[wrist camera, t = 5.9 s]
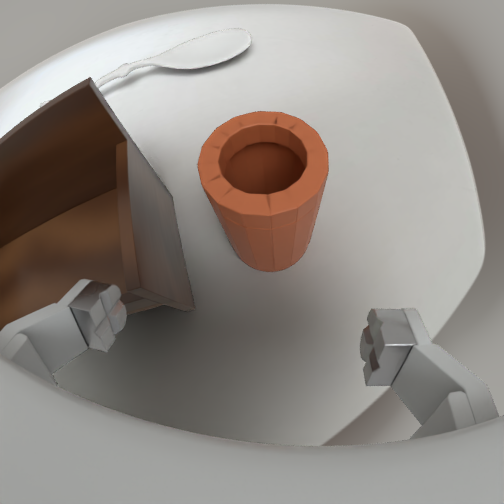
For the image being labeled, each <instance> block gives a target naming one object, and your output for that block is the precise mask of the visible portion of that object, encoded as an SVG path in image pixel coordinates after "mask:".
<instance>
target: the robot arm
mask: <svg viewBox="0 0 504 504" xmlns="http://www.w3.org/2000/svg"><path fill="white" fill-rule="evenodd" d="M121 295H122V294H121V291H120V288H119V287H118V286H117V285H115V284H110V283H105V282H100V281H93V280H88V279H81V280H80V281H79V282H78V283H77V284H76V285H75V286H74V287H73V288H72V289H71V290H70V291H69V292H68V293H67V294H66V295H65V296H64V297H63V298H62V299H61V300H60V301H59V302H58V303H57V304H56V303H53V304H51V305H48V306H46V307H44V308H42V309H40V310H37V311H35V312H33V313H31V314H28V315H26V316H24V317H22V318H20V319H18V320H15V321H13V322H11V323H9V324H7V325H6V326H5V327H4V328H3V329H2V330H1V331H0V504H504V415H503V416H500V417H499V415H498V412H497V409H496V406H495V404H494V401H493V399H492V396H491V393H490V391H489V388H488V386H487V384H486V383H484V382H483V381H482V380H481V379H480V378H478V377H477V376H476V375H475V374H474V373H472V372H471V371H470V370H469V369H467V368H466V367H465V366H464V365H462V364H461V363H460V362H459V361H457V360H456V359H455V358H454V357H453V356H451V355H450V354H449V353H447V352H446V351H445V350H444V349H442V348H441V347H440V346H439V345H437V344H433V343H432V341H431V339H430V337H429V334H428V332H427V330H426V328H425V325H424V323H423V321H422V319H421V317H420V315H419V312H418V311H417V310H416V309H415V308H409V309H372V308H371V310H370V312H369V314H368V317H367V321H368V326H367V327H366V328H365V329H363V332H362V336H361V341H360V354H361V358H362V359H363V360H364V361H365V362H366V363H365V366H364V368H363V372H364V378H365V384H366V386H391V388H392V389H393V390H394V391H395V392H396V394H397V395H398V396H399V397H400V399H401V400H402V401H403V403H404V404H405V405H406V406H407V408H408V409H409V410H410V411H411V412H412V414H413V415H414V416H415V417H416V419H417V420H418V421H419V422H420V424H421V425H422V426H421V427H420V428H419V429H418V430H417V431H416V432H415V433H414V434H413V435H412V437H411V438H410V439H409V440H402V441H395V442H387V443H377V444H366V445H350V446H294V445H277V444H265V443H256V442H247V441H239V440H232V439H226V438H220V437H214V436H208V435H203V434H198V433H193V432H189V431H184V430H180V429H176V428H172V427H168V426H164V425H160V424H157V423H153V422H150V421H146V420H143V419H140V418H137V417H133V416H130V415H127V414H124V413H121V412H118V411H116V410H113V409H110V408H107V407H105V406H102V405H100V404H97V403H94V402H92V401H90V400H87V399H85V398H82V397H80V396H78V395H75V394H73V393H71V392H69V391H67V390H65V389H62V388H60V387H58V386H57V382H56V380H55V379H54V378H53V376H52V375H51V374H52V373H54V372H55V371H57V370H58V369H60V368H61V367H63V366H64V365H65V364H67V363H68V362H70V361H71V360H73V359H74V358H76V357H77V356H78V355H80V354H81V353H83V352H84V351H86V350H87V349H88V347H89V348H92V349H96V350H100V351H103V352H108V350H109V349H110V347H111V346H112V344H113V343H114V341H115V340H116V338H115V334H116V333H118V332H120V331H122V329H123V327H124V326H125V323H126V319H127V311H126V308H125V305H124V304H123V303H122V301H121V300H120V297H121Z"/></svg>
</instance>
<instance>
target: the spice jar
mask: <svg viewBox="0 0 504 504" xmlns="http://www.w3.org/2000/svg"><path fill="white" fill-rule="evenodd" d="M197 165H198V171H199V175H200V180H201V184H202V187H203V189H204V191H205V193H206V195H207V197H208V199H209V201H210V203H211V205H212V207H213V209H214V211H215V213H216V215H217V217H218V219H219V221H220V223H221V225H222V227H223V229H224V231H225V233H226V235H227V237H228V239H229V241H230V243H231V245H232V247H233V249H234V251H235V252H236V253H237V255H238V256H239V257H240V259H241V260H242V261H243V262H244V263H246V264H247V265H249V266H250V267H252V268H254V269H257V270H260V271H266V272H274V271H280V270H284V269H286V268H288V267H290V266H292V265H293V264H295V263H296V262H297V261H298V260H299V259H300V258H301V257H302V256H303V254H304V253H305V251H306V249H307V246H308V244H309V242H310V239H311V235H312V232H313V228H314V225H315V221H316V217H317V214H318V210H319V207H320V203H321V199H322V195H323V192H324V187H325V184H326V180H327V176H328V171H329V165H328V152H327V149H326V147H325V145H324V143H323V141H322V139H321V138H320V136H319V134H318V133H317V131H315V130H314V129H313V128H312V127H310V126H309V125H308V124H306V123H305V122H304V121H303V120H301V119H299V118H296V117H294V116H291V115H288V114H285V113H282V112H265V111H258V112H252V113H248V114H244V115H240V116H237V117H235V118H232V119H230V120H229V121H227V122H225V123H224V124H222V125H221V126H219V127H217V128H216V130H214V132H213V133H212V134H211V135H210V137H209V138H208V139H207V140H206V142H205V143H204V144H203V146H202V149H201V153H200V156H199V160H198V164H197Z"/></svg>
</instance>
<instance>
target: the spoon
mask: <svg viewBox="0 0 504 504" xmlns="http://www.w3.org/2000/svg"><path fill="white" fill-rule="evenodd" d="M251 42H252V37H251V34H250V33H249V32H248V31H246V30H244V29H239V28H233V29H226V30H221V31H216V32H212V33H209V34H206V35H203V36H200V37H198V38H195V39H192V40H189V41H187V42H184V43H182V44H180V45H178V46H176V47H174V48H172V49H169V50H167V51H165V52H163V53H161V54H159V55H156V56H154V57H150V58H147V59H143V60H139V61H136V62H133V63H130V64H128V63H126V64H123V65H121V66H120V67H119V68H118V69H116V70H114V71H113V72H111V73H109V74H107V75H105V76H103V77H102V78H100V79H99V80H97V81H96V82H95V85H96V86H97V88H98V89H99V88H100V87H101V86H102V85H104V84H105V83H107V82H109V81H111V80H114V79H116V78H119V77H121V78H122V77H125V76H127V75H128V74H129V73H130V72H131V71H133V70H135V69H138V68H141V67H145V66H161V67H167V68H174V69H196V68H203V67H208V66H212V65H215V64H218V63H221V62H224V61H226V60H229V59H231V58H233V57H235V56H237V55H238V54H240V53H242V52H243V51H244V50H246V49H247V48H248V47H249V46H250V44H251ZM50 101H51V100H50ZM48 102H49V101H45V102H43V103H41V104H40V108H41V107H42V106H43V105H45V104H46V103H48Z"/></svg>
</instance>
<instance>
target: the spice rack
mask: <svg viewBox="0 0 504 504" xmlns="http://www.w3.org/2000/svg"><path fill="white" fill-rule="evenodd" d="M81 279H88V280H93V281H100V282H105V283H110V284H115V285H117V286H118V287H119V288H120V291H121V294H122V295H121V297H120V300H121V301H122V303H123V304H124V305H125V308H126V311H127V315H129V314H133V313H136V312H140V311H144V310H148V309H151V308H155V307H159V306H162V305H167V306H170V307H173V308H176V309H179V310H182V311H185V312H187V311H191V310H195V305H194V300H193V296H192V292H191V288H190V283H189V279H188V274H187V270H186V265H185V260H184V256H183V251H182V246H181V241H180V236H179V231H178V226H177V220H176V215H175V209H174V204H173V198H172V196H171V194H170V193H169V191H168V190H167V189H166V187H165V186H164V184H163V183H162V182H161V180H160V179H159V177H158V176H157V174H156V173H155V172H154V170H153V169H152V167H151V166H150V164H149V163H148V162H147V160H146V159H145V157H144V156H143V154H142V153H141V152H140V150H139V149H138V147H137V146H136V144H135V143H134V141H133V140H132V138H131V137H130V135H129V134H128V133H127V131H126V130H125V128H124V127H123V125H122V124H121V123H120V121H119V120H118V118H117V117H116V115H115V114H114V112H113V111H112V109H111V108H110V106H109V105H108V103H107V102H106V100H105V98H104V97H103V95H102V94H101V92H100V91H99V89H98V88H97V86H96V85H95V83H94V82H93V80H92V78H91V77H89V78H88V79H86V80H84V81H82V82H80V83H79V84H77V85H75V86H73V87H72V88H70V89H68V90H67V91H65V92H63V93H62V94H60V95H59V96H57V97H56V98H54V99H52V100H51V101H49V102H48V103H46V104H45V105H43V106H42V107H41V108H39V109H38V110H36V111H35V112H33V113H32V114H31V115H29V116H28V117H27V118H25V119H24V120H23V121H21V122H20V123H19V124H18V125H16V126H15V127H14V128H13V129H11V130H10V131H9V132H8V133H6V134H5V135H4V136H3V137H2V138H1V139H0V331H1V330H2V329H3V328H4V327H5V326H6V325H7V324H9V323H11V322H13V321H15V320H18V319H20V318H22V317H24V316H26V315H28V314H31V313H33V312H35V311H37V310H40V309H42V308H44V307H46V306H48V305H51V304H53V303H56V304H57V303H58V302H59V301H60V300H61V299H62V298H63V297H64V296H65V295H66V294H67V293H68V292H69V291H70V290H71V289H72V288H73V287H74V286H75V285H76V284H77V283H78V282H79V281H80V280H81Z"/></svg>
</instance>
